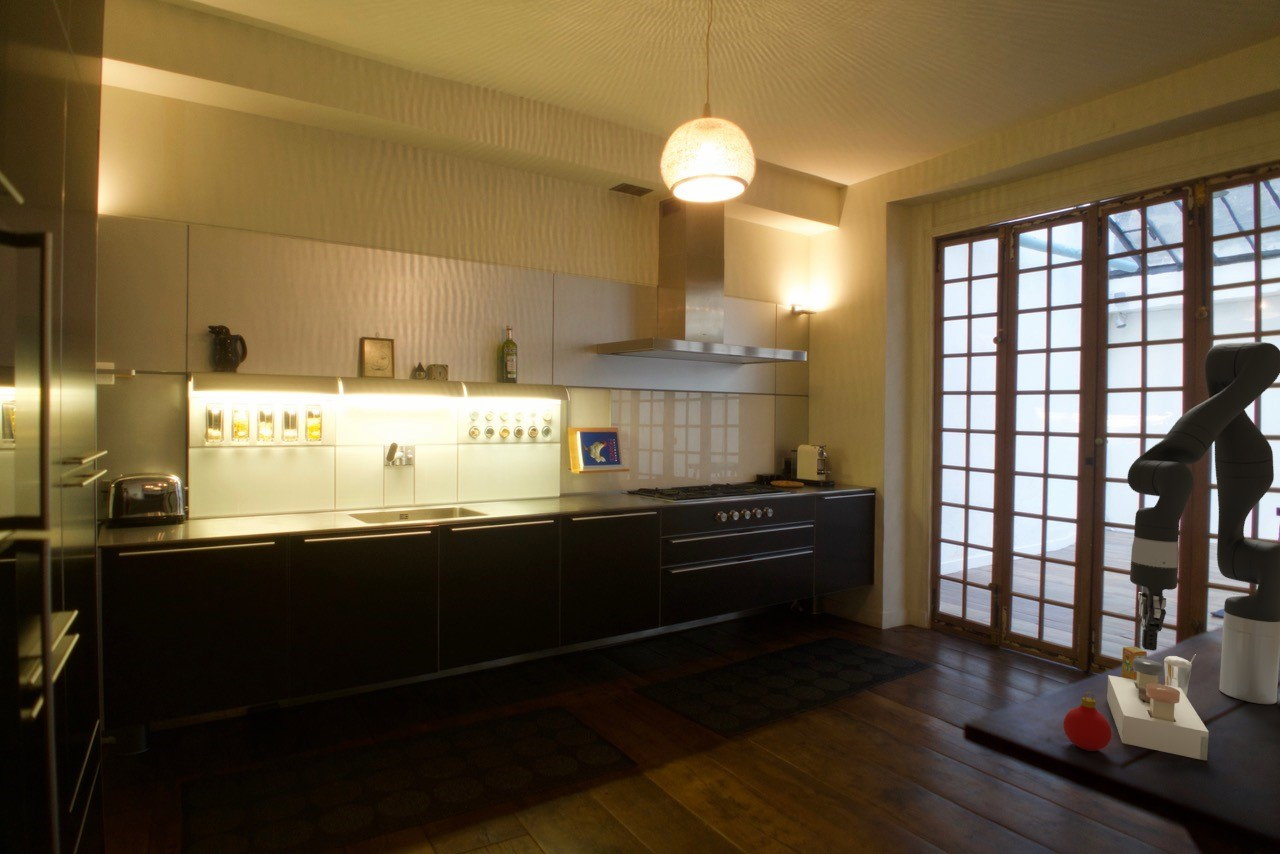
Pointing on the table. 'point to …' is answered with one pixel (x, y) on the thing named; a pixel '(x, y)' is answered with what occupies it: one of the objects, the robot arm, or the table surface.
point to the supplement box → (1131, 661)
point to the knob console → (1156, 722)
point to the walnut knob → (1143, 694)
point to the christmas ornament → (1087, 726)
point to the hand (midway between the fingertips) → (1148, 648)
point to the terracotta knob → (1162, 701)
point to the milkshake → (1177, 672)
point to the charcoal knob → (1147, 671)
